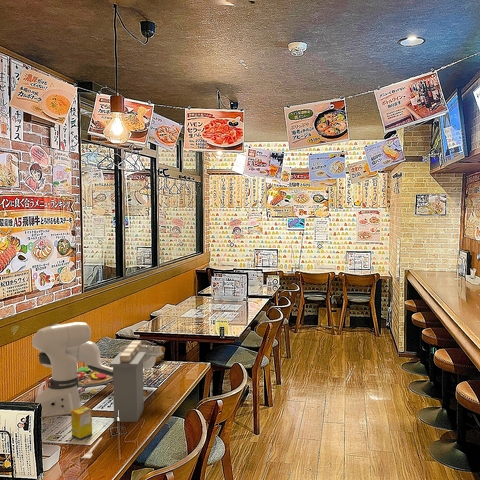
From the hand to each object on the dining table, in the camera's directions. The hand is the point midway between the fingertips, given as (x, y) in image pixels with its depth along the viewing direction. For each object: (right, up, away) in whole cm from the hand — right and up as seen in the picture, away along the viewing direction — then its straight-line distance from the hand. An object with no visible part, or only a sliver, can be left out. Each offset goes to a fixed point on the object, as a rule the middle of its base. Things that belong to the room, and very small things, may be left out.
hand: (138, 346), depth 245 cm
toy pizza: (-32, -25, +34) cm, 53 cm away
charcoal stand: (-1, -27, -17) cm, 32 cm away
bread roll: (-2, -23, +66) cm, 70 cm away
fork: (-7, -30, -49) cm, 58 cm away
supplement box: (-15, -29, -37) cm, 50 cm away
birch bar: (-1, -1, -12) cm, 12 cm away
